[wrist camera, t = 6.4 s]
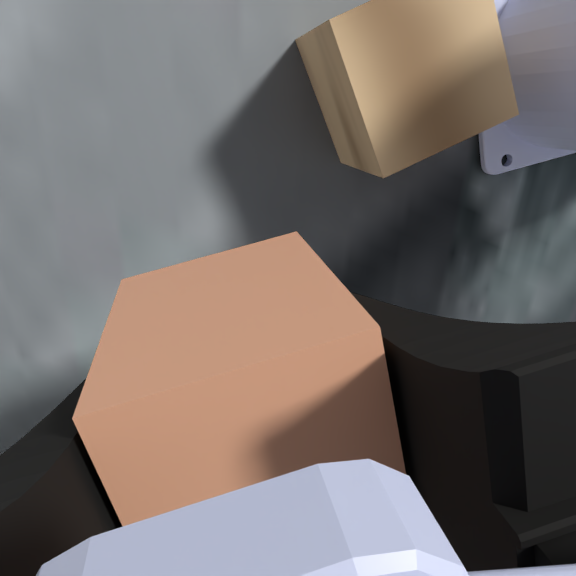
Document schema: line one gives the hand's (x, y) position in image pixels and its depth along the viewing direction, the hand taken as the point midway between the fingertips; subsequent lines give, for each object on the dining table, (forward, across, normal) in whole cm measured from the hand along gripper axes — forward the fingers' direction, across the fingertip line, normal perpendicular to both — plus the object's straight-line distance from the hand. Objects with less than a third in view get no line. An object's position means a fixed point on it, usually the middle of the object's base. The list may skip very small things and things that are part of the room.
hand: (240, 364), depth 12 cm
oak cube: (+10, -8, -5) cm, 14 cm away
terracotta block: (+2, 0, 0) cm, 2 cm away
